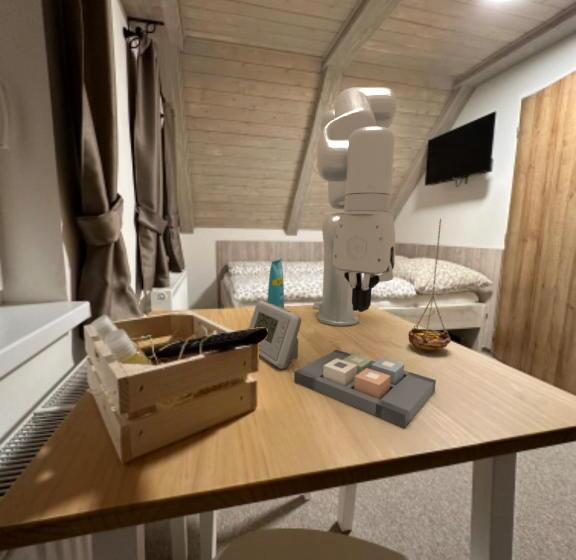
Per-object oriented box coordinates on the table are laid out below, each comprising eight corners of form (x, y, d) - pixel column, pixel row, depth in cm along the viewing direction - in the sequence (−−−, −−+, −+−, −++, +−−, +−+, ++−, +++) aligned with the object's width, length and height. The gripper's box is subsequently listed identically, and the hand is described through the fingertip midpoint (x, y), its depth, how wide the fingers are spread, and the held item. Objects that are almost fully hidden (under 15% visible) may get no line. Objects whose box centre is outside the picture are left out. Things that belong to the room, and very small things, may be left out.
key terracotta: (353, 390, 52) (354, 376, 51) (365, 381, 55) (366, 367, 54) (378, 400, 49) (379, 384, 49) (389, 390, 52) (390, 375, 52)
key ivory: (323, 379, 55) (323, 365, 55) (336, 371, 59) (336, 357, 58) (344, 387, 53) (345, 372, 52) (356, 378, 56) (357, 364, 56)
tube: (281, 337, 80) (282, 261, 77) (262, 335, 81) (263, 260, 78) (286, 328, 88) (288, 258, 84) (269, 326, 88) (270, 257, 85)
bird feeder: (453, 359, 69) (470, 218, 64) (410, 355, 71) (423, 217, 66) (442, 345, 77) (456, 219, 72) (404, 341, 79) (415, 218, 74)
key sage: (340, 372, 60) (341, 360, 60) (351, 365, 63) (352, 353, 63) (361, 380, 57) (361, 366, 57) (371, 372, 61) (372, 359, 60)
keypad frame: (294, 381, 57) (294, 371, 57) (335, 358, 68) (336, 349, 68) (404, 428, 45) (405, 415, 44) (434, 390, 55) (435, 380, 55)
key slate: (370, 378, 56) (371, 364, 56) (380, 370, 59) (381, 357, 59) (393, 386, 54) (395, 371, 53) (403, 377, 57) (404, 363, 56)
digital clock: (242, 345, 75) (242, 300, 73) (278, 340, 78) (279, 298, 76) (264, 374, 60) (264, 320, 58) (307, 367, 63) (309, 315, 62)
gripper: (318, 206, 57) (315, 306, 60) (401, 204, 47) (392, 323, 50) (340, 208, 62) (336, 299, 66) (418, 206, 53) (409, 313, 56)
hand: (360, 309), depth 58 cm, fingers closed
